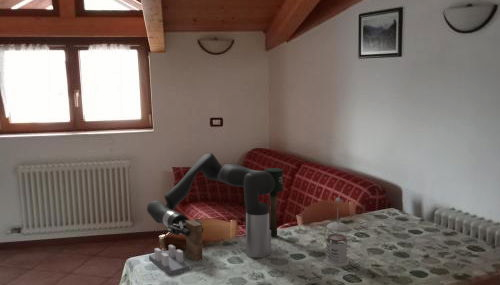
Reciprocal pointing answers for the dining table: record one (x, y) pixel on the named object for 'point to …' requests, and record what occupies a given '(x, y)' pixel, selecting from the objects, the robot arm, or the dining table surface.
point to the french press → (336, 244)
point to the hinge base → (170, 260)
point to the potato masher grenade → (275, 197)
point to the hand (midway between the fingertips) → (195, 232)
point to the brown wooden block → (194, 240)
